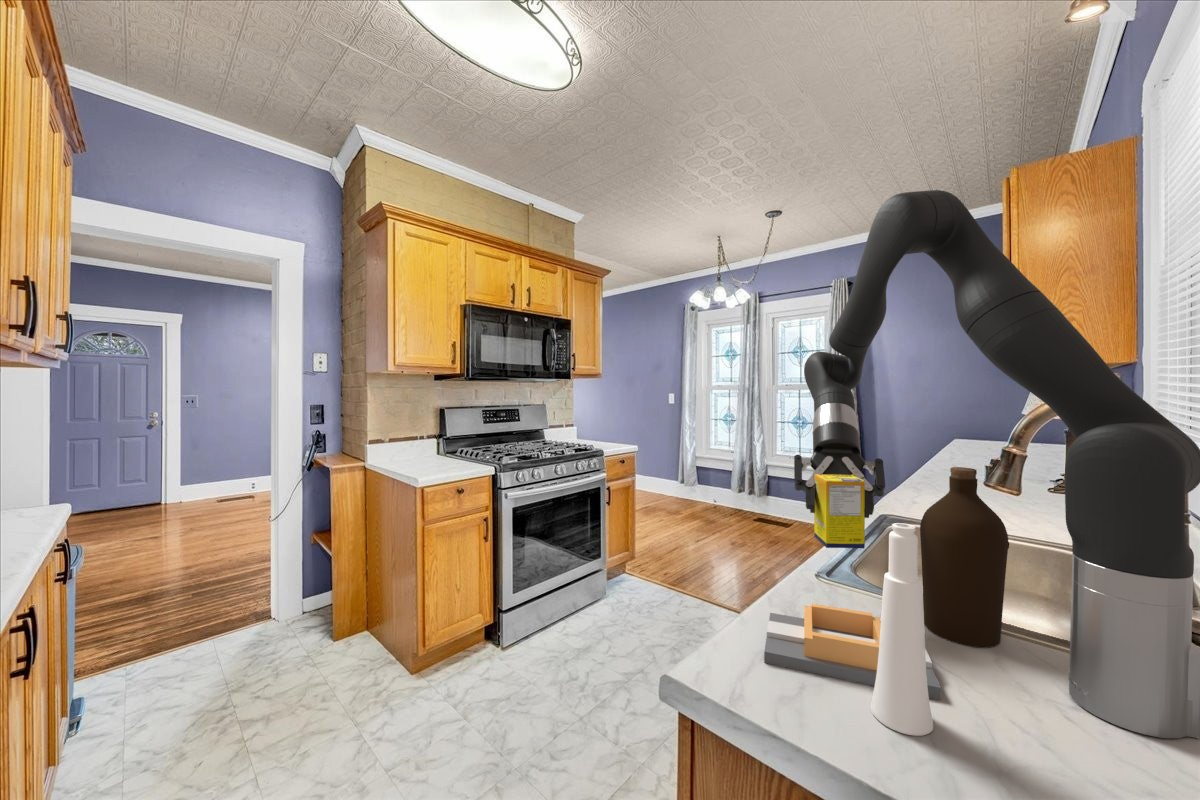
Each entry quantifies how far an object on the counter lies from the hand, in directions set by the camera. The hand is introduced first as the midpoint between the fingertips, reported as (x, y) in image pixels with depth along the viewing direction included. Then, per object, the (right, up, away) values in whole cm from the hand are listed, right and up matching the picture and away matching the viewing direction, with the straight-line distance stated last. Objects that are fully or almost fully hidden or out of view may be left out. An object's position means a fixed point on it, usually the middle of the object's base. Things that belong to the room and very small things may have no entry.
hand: (839, 512), depth 76 cm
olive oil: (+17, -17, -4) cm, 24 cm away
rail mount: (-5, -18, -10) cm, 21 cm away
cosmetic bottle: (-4, -18, -22) cm, 29 cm away
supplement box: (+1, -6, +2) cm, 6 cm away
